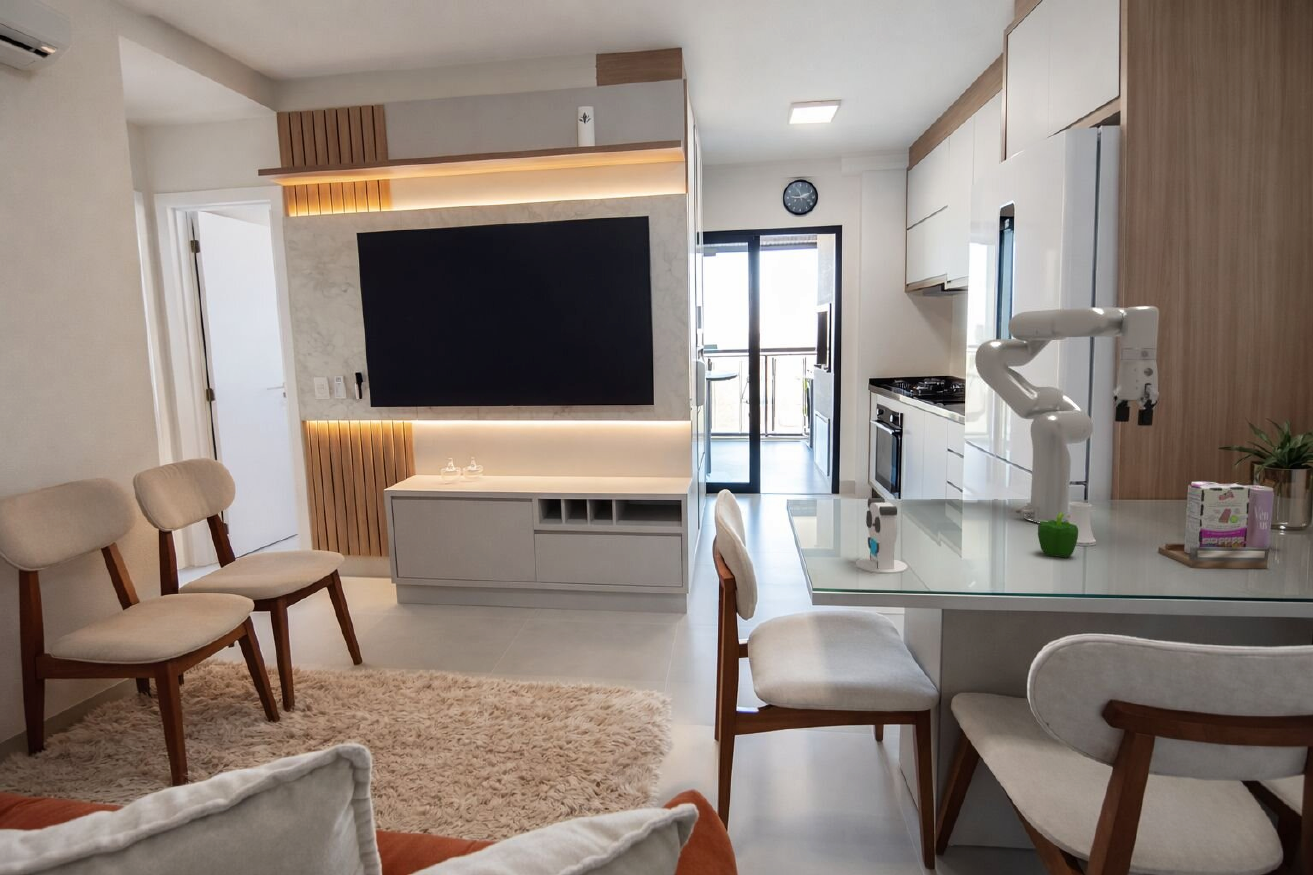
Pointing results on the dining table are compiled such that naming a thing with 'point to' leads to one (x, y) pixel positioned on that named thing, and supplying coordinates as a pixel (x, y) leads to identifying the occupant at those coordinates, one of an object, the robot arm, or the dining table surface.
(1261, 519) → the beverage can
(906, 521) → the dining table surface
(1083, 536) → the vase
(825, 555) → the dining table surface
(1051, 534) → the bell pepper
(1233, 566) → the wooden tray
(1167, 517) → the dining table surface
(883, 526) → the panda figurine
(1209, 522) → the candy bar box
